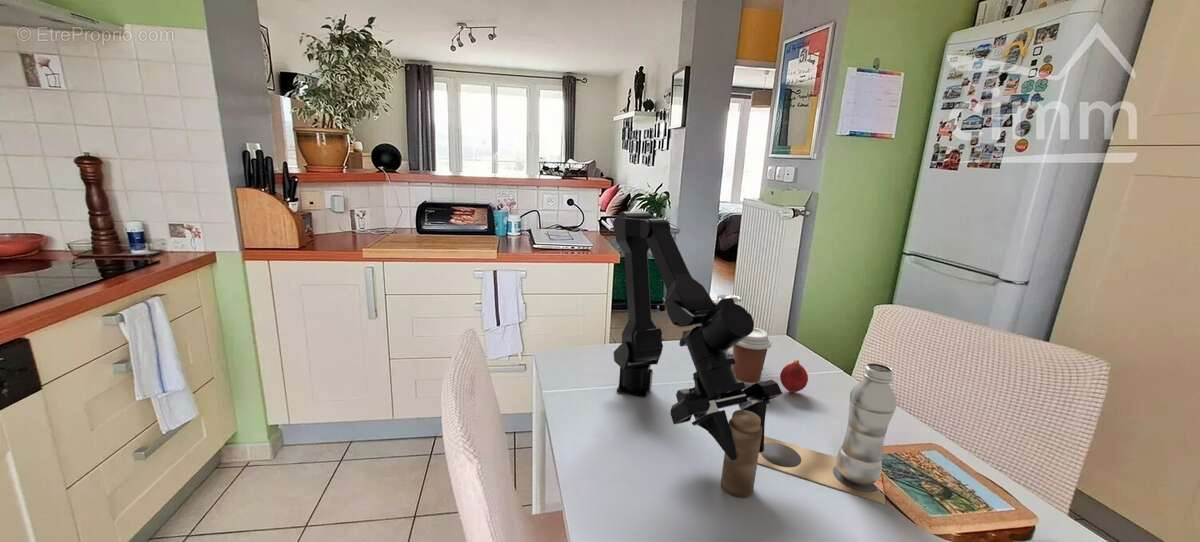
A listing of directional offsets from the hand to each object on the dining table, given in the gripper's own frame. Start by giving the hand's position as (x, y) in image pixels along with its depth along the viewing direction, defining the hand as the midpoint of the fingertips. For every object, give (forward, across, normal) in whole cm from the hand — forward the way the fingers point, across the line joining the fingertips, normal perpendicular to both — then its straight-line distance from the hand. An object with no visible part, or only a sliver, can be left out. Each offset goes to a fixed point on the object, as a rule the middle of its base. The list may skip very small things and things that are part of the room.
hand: (747, 456), depth 72 cm
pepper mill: (+4, 0, -6) cm, 7 cm away
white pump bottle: (-28, -34, -37) cm, 57 cm away
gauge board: (+4, -16, -5) cm, 18 cm away
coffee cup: (-17, -28, -26) cm, 42 cm away
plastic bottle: (+8, -20, -1) cm, 22 cm away
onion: (-10, -33, -20) cm, 40 cm away
